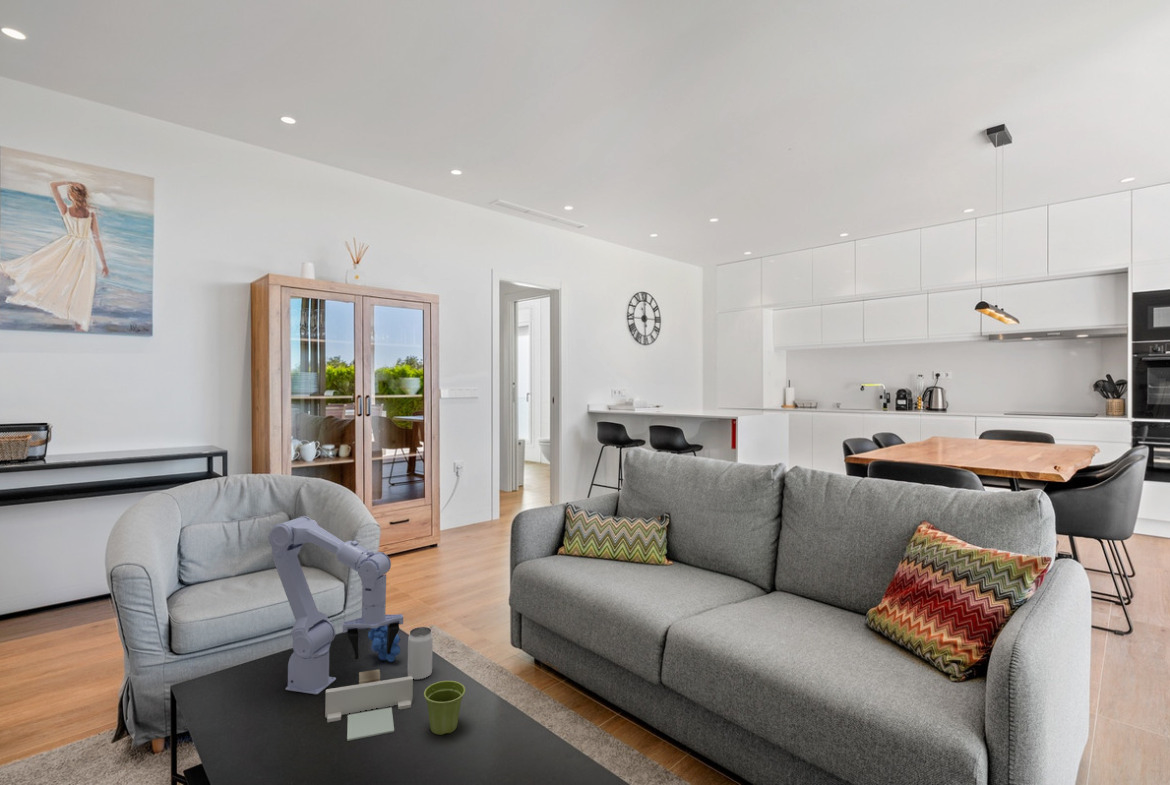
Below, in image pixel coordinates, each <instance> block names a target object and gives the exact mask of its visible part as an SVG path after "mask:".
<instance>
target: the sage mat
mask: <svg viewBox="0 0 1170 785" xmlns="http://www.w3.org/2000/svg"><path fill="white" fill-rule="evenodd" d="M392 707H393V706H390V707H384V708H378V709H373V710H367V711H361V712H355V713H350V714H347V729H346V730H347V735H346V739H347V740H346V741H347V742H348V741H354V740H358V739H364V738H365V739H366V738H370V737H374V736H379V735H384V734H385V735H387V734H391V733H394V732H395V726H394V717H393V708H392Z"/></svg>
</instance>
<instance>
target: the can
mask: <svg viewBox="0 0 1170 785" xmlns="http://www.w3.org/2000/svg"><path fill="white" fill-rule="evenodd" d="M407 639H408V640H407V677H408V676H412V677H413V679H414V680H416V681H421V680H424V678H425V679H427V678H428V676H429V677H431V675H432V674H433V673H432V672H433V642H434V641H433V640H434V638H433V633H432V628H430V627H426V626H421V627H420V626H419V627H414V628H412V629H411V630H410V631H409V635H408V637H407ZM426 677H427V678H426ZM420 679H421V680H420ZM414 680H413V681H414Z"/></svg>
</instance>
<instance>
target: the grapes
mask: <svg viewBox="0 0 1170 785" xmlns="http://www.w3.org/2000/svg"><path fill="white" fill-rule="evenodd" d="M367 634H368V635H367V637H368V639H369V640H370V641H372V642H371V647H370V648H371V650H372V652H375V653H377V657H378V659H379V660H381V661H383V660H384V661H386V660H387V661H388V662H390V663H393V662H394V661H395V660H396V656H399V655H400V653H401V647H400V646H399V643H400V640H401V638H400V637H401V636H400V635H399V634H398V633H397V635H396V637H395V639H394V641H393V644H392V647H391V652H390V654H387V625H386V626H379V627H378V628H370V630H369V631H368V633H367Z"/></svg>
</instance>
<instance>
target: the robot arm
mask: <svg viewBox="0 0 1170 785" xmlns="http://www.w3.org/2000/svg"><path fill="white" fill-rule="evenodd" d="M267 539H268V541H269V544H270V547H271V556H272V561H273V563H274V566H275V568H276V571H277V573H278V574H277V575H278V576H279V579H280V581H281V585H282V587H283V590H284V594H285V596H286V598H287V601H288V603H289V606H290V609H291V611H292V614H293V616H294V620H295V622H294V625H293V626H292V629H291V631H290V635H291V637H292V644H291V645H292V650H293V652H292V653H291V655H290V657H289V660H288V664H287V686H286V687H285V691H289V692H299V693H304V694H312V695H319V694H320V693H321V692H323V691H324V690H326V688H327V687H329V686H331V685H332V684H333V683H334V682H335V681H336V680H337V677H335V676H334V677H333V676H330V648H331V643H332V641H334V639H335V637H336V628H335V625H334V624H333V623H332V622H331V621H330V619H329V618H328V616H327V613H324V612H322V611H319V610H318V608H317V606H316V602H315V599H314V597H313V594H312V592H311V589H310V587H309V584H308V581H307V577H306V576H305V572H304V571H303V568H302V565H301V563H300V560H299V557H298V555H299V553H300V551H301V549H302V547H303V546H304V545H305V544H306V543H311V544H312V545H315V546H317V547H320V548H322V549H324V550H326V551H329V552H330V553H332V554H335V555H336V560H337V561H338V562H340V563H342V565H344V566H347V567H349V568H350V569H352V570H354V571H356V572H357V575H358V576H359V578H360V580H361V587H362V590H361V591H362V592H361V593H362V594H361V617H359V618H355V619H351V620H347V621H342V633H347V637H348V639H349V641H350V644H351V646H352V648H353V649H352V650H353V651H354V658H355V659H354V660H359V630H364V629H371V628H378V627H379V626H386V625H387V654H390V652H391V647H392V644H393V641H394V639H395V637H396V635H397V634H398V633H399V631H400V625H403V624H404V615H403V613H400V614H386V605H387V604H386V603H387V602H386V600H387V596H386V595H387V573H389V571H390V570H391V566H392V560H391V558H390V557H389V556H388V555H387V554H386V553H385V552H383V551H378V552H375V551H374V550H372V549H370V550H369V549H367V548H365V547H364V546H362V545H360V544H359V542H358V541H357V540H347V541H344V540H342V539H340V538H338V537H337V536H336V535H334V534H332V533H331V532H329V531H328V530H326V529H324V528H322V527H321V526H320V525H319V524H318V522H317V521H316V520H314V519H311V518H310V517H309V516H307V515H302V516H298V517H297V518H294V519H291V520H288V521H285V522H284V521H283V522H280V523H277V524H275V525H274V526H273V527H272V529H271V531H270V533H269V534H268V537H267Z"/></svg>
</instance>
